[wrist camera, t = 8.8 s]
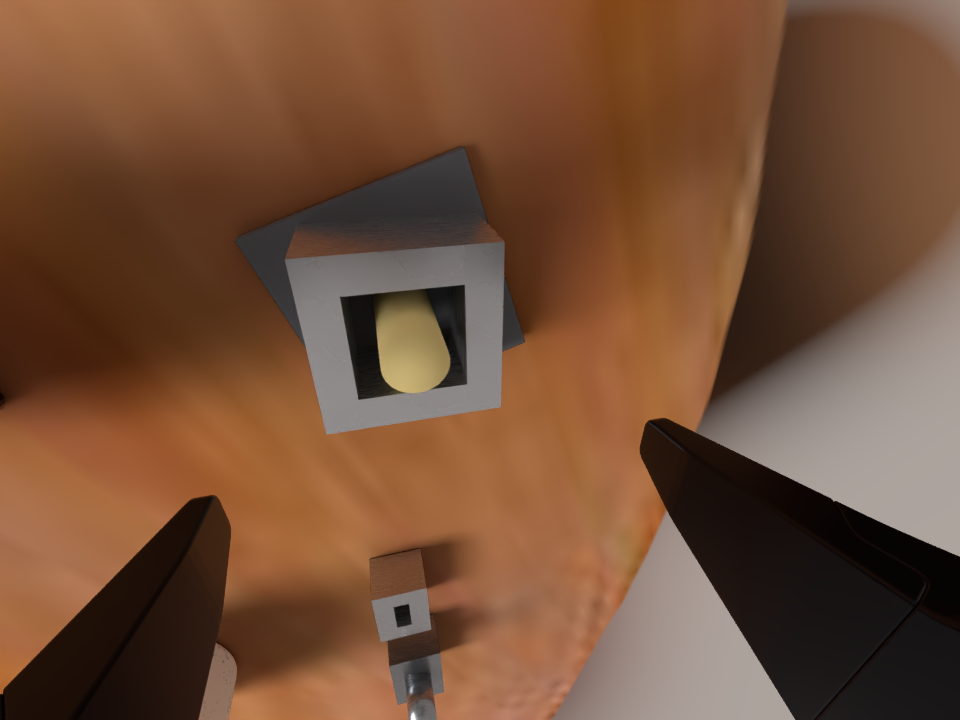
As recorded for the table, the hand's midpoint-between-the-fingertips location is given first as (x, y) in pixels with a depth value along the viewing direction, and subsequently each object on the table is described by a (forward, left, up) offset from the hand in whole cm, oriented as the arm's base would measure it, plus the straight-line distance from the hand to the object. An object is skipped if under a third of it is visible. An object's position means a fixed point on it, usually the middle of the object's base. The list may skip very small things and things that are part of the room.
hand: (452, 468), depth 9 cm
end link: (0, 0, -9) cm, 9 cm away
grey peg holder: (0, 0, -10) cm, 10 cm away
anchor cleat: (-9, -23, -10) cm, 27 cm away
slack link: (-7, -16, -10) cm, 20 cm away
